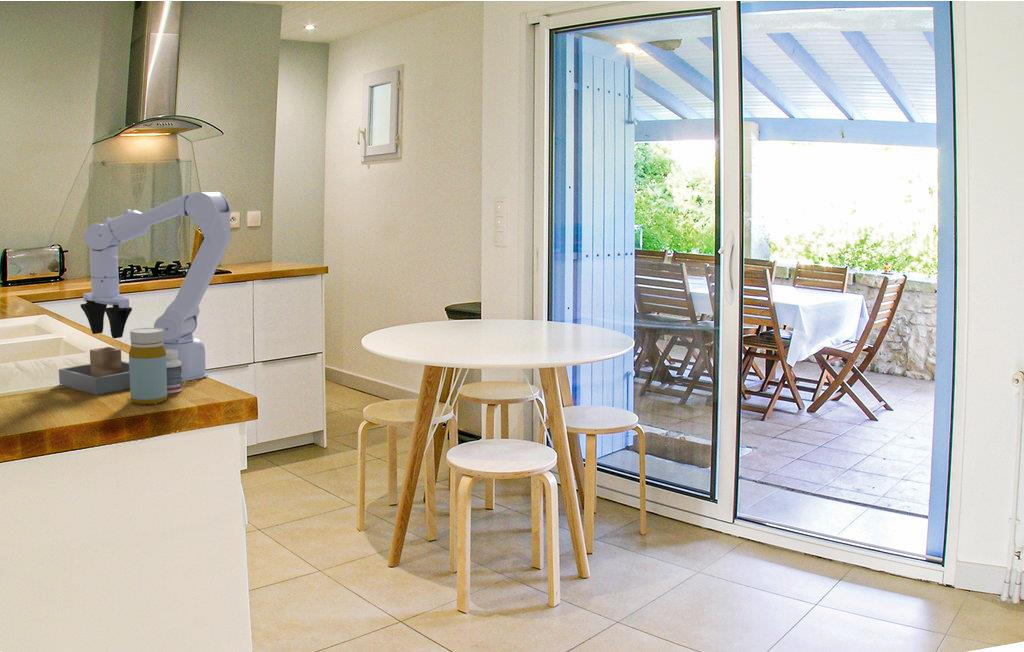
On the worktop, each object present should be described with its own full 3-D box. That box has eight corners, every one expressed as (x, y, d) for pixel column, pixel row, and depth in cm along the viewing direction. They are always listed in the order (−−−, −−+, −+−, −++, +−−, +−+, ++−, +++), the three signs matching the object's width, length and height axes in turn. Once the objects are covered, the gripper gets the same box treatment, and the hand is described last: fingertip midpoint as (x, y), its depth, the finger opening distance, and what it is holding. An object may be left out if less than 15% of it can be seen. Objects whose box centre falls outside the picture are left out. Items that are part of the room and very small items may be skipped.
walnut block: (110, 377, 188) (108, 346, 187) (122, 380, 186) (120, 349, 185) (91, 380, 185) (89, 349, 184) (103, 383, 182) (101, 352, 181)
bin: (116, 374, 195) (116, 359, 194) (153, 383, 188) (152, 368, 187) (59, 384, 183) (58, 369, 183) (96, 394, 176) (95, 378, 176)
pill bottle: (186, 391, 182) (185, 351, 181) (163, 395, 178) (162, 354, 177) (175, 386, 186) (174, 347, 184) (152, 390, 182) (150, 350, 180)
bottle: (173, 402, 173) (170, 331, 171) (138, 407, 168) (135, 334, 166) (159, 395, 178) (156, 326, 176) (125, 400, 173) (122, 329, 171)
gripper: (69, 275, 190) (72, 333, 192) (107, 281, 182) (110, 342, 185) (98, 272, 196) (101, 329, 198) (136, 278, 188) (138, 337, 191)
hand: (107, 335), depth 192 cm, fingers open, 7 cm apart
